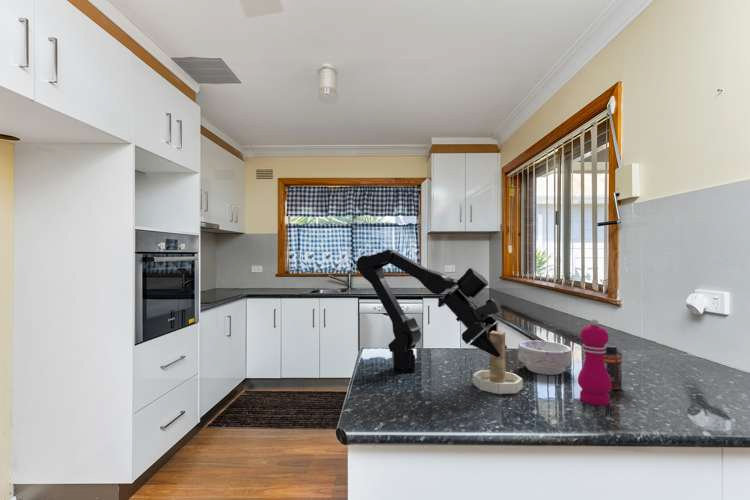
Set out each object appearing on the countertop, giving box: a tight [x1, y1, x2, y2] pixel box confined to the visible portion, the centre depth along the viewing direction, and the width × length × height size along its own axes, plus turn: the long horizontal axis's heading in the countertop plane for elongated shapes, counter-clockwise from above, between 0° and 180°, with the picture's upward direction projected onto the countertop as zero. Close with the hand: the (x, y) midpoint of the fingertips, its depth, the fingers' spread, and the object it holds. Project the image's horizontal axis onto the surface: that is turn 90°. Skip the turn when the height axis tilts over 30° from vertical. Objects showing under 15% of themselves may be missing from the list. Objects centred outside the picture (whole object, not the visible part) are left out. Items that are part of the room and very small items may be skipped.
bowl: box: [472, 369, 524, 395], centre depth 103 cm, size 12×12×2 cm
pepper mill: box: [577, 318, 612, 407], centre depth 93 cm, size 7×7×20 cm
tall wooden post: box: [489, 330, 506, 383], centre depth 104 cm, size 3×3×14 cm
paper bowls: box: [517, 339, 573, 376], centre depth 118 cm, size 15×15×8 cm
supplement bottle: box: [604, 343, 623, 391], centre depth 103 cm, size 6×6×11 cm
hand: (502, 352), depth 103 cm, fingers open, 9 cm apart
